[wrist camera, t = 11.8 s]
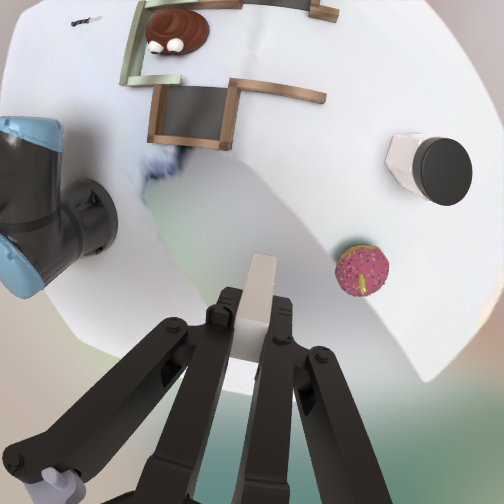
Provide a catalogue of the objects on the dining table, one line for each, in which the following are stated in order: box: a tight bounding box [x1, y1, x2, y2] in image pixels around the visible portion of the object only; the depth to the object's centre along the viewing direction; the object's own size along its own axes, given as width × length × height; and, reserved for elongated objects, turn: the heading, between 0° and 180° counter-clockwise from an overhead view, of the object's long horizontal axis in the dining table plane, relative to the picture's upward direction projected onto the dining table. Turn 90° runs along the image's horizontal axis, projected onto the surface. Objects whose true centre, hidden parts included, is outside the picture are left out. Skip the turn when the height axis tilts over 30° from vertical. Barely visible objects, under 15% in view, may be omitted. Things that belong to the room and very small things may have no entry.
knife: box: [71, 16, 102, 27], centre depth 28 cm, size 19×2×1 cm, turn 83°
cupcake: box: [335, 245, 389, 297], centre depth 37 cm, size 9×8×12 cm
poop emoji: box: [145, 9, 209, 55], centre depth 26 cm, size 10×8×9 cm
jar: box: [385, 134, 472, 206], centre depth 29 cm, size 9×8×12 cm
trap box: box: [119, 0, 339, 151], centre depth 29 cm, size 30×34×4 cm
